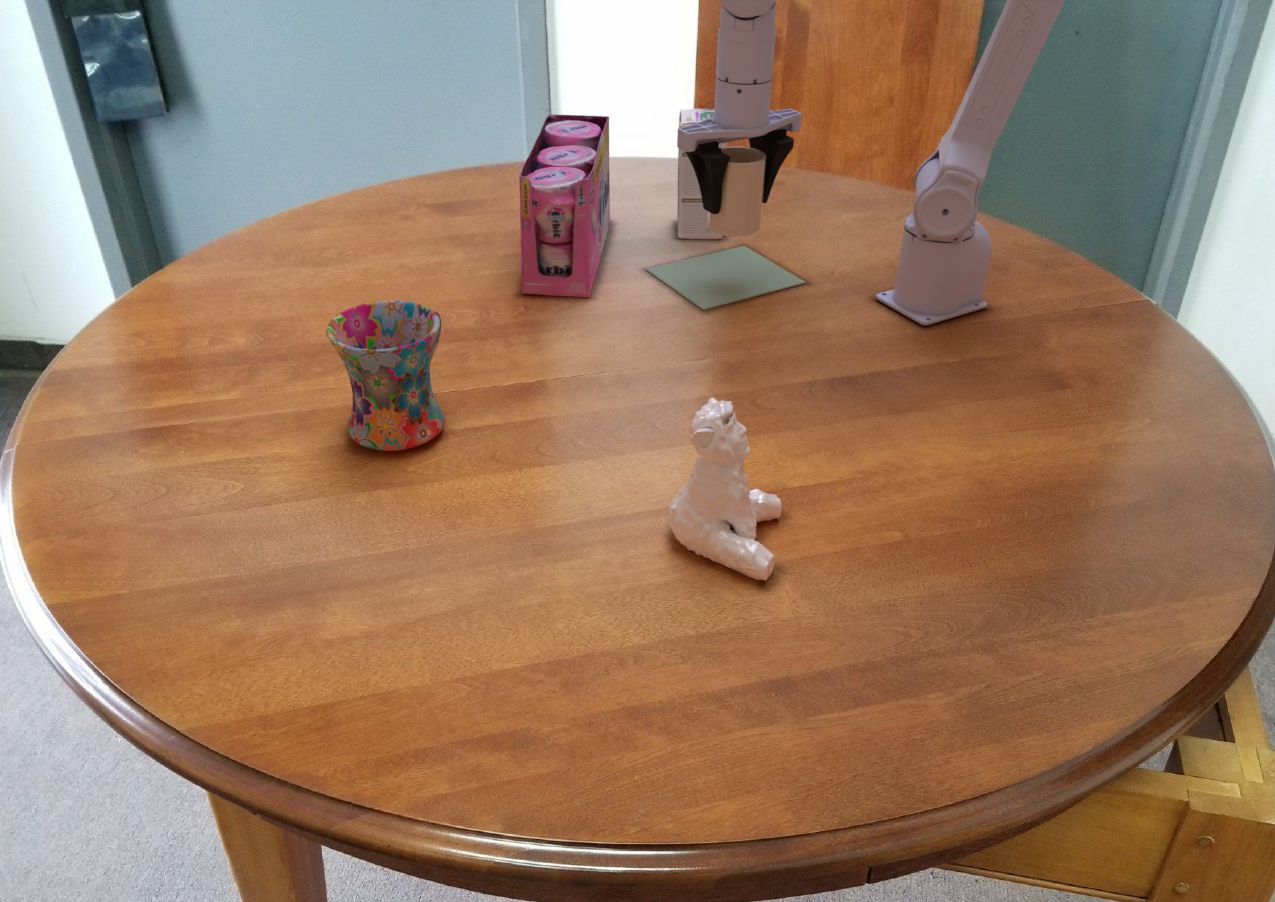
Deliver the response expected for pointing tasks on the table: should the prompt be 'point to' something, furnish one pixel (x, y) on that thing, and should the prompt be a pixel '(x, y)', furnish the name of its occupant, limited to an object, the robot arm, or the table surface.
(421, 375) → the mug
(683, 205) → the syrup box
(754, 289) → the mat
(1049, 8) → the robot arm
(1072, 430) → the table surface
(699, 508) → the seated beast figurine
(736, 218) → the cup
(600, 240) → the gum box
